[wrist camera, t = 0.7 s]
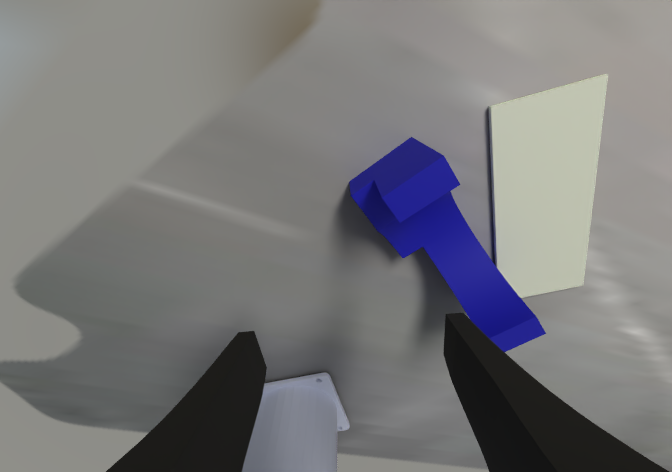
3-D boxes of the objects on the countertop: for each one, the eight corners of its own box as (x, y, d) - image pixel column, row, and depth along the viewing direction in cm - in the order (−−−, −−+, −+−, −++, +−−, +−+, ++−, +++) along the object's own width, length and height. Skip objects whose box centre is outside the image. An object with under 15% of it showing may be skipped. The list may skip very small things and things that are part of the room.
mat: (496, 299, 22) (498, 302, 22) (488, 106, 16) (491, 106, 16) (580, 283, 21) (583, 285, 21) (603, 74, 16) (608, 73, 15)
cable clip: (349, 180, 18) (353, 216, 13) (410, 136, 17) (443, 155, 12) (438, 302, 23) (470, 367, 17) (493, 273, 21) (545, 333, 16)
